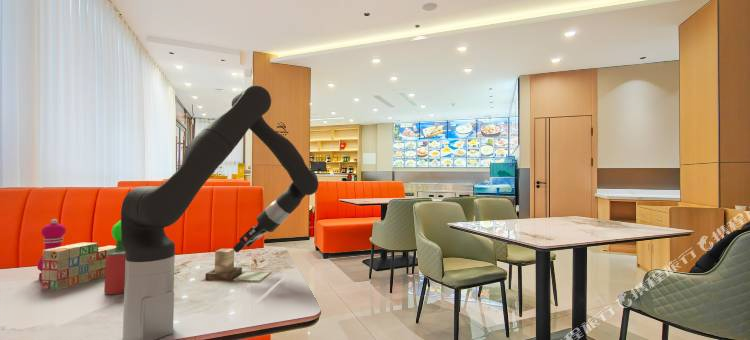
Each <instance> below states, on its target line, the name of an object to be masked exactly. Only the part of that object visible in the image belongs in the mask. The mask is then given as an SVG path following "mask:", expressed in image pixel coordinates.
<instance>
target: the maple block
mask: <svg viewBox="0 0 750 340" xmlns="http://www.w3.org/2000/svg"><path fill="white" fill-rule="evenodd" d="M234 267H235V250H234V249H233V248H220V249H217V250H215V251H214V269H215V273H230V272H232V271H233V270H234Z"/></svg>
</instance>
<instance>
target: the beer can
mask: <svg viewBox="0 0 750 340" xmlns="http://www.w3.org/2000/svg"><path fill="white" fill-rule="evenodd" d="M125 258H126V254H125V250H121V251H114V252H110V253H108V256H107V258H106V261H105V276H104V290H103V291H104V292H103V293H104V294H105V295H111V296H113V295H121V294H124V285H125V260H126V259H125Z"/></svg>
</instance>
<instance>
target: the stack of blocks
mask: <svg viewBox="0 0 750 340" xmlns="http://www.w3.org/2000/svg"><path fill="white" fill-rule="evenodd" d="M114 251H116V245H106V246H101V247H99V243H98V242H87V241H86V242H85V241H84V242H77V243H72V244H66V245H63V246H62V245H61V247H57V248H51V249H46V250H45V249H43V250H42V255H41V257H42V280H41V279H40V281H41V282H40V283H41V284H40V286H41V287H40V289H41V290H50V289H53V291H59V289H60V290H63V289H66V288H69V286H70V287H73V286H76V284H77V285H79V283H80V284H83V283H86V281H87V282H90V281H92V280H96V279H99V278H102V276H103V277H105V261H106V258H107V256H108V253H110V252H114ZM95 278H96V279H95ZM89 280H90V281H89ZM72 285H73V286H72ZM62 288H63V289H62Z"/></svg>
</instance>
